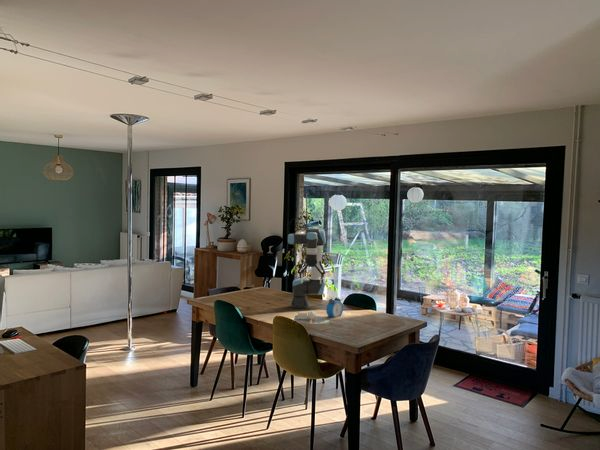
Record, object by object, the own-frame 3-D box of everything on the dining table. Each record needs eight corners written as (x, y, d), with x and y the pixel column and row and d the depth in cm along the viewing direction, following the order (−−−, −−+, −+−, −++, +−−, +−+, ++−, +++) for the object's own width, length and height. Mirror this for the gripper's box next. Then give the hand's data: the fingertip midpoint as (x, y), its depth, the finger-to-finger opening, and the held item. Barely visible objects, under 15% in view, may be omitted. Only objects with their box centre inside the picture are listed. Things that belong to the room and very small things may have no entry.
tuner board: (295, 317, 347) (295, 315, 347) (330, 318, 344) (330, 316, 344) (291, 325, 323) (291, 323, 323) (329, 327, 320) (329, 324, 320)
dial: (298, 318, 338) (298, 309, 338) (316, 318, 337) (316, 310, 337) (296, 323, 323) (296, 314, 323) (314, 324, 322) (314, 315, 321)
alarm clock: (332, 320, 340) (332, 299, 339) (325, 318, 344) (325, 298, 344) (343, 317, 349) (343, 297, 349) (336, 315, 354) (337, 296, 353)
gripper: (293, 254, 329) (293, 283, 330) (328, 254, 326) (328, 284, 327) (294, 252, 336) (294, 281, 337) (329, 253, 334) (328, 283, 335)
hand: (311, 283), depth 332 cm, fingers open, 13 cm apart
